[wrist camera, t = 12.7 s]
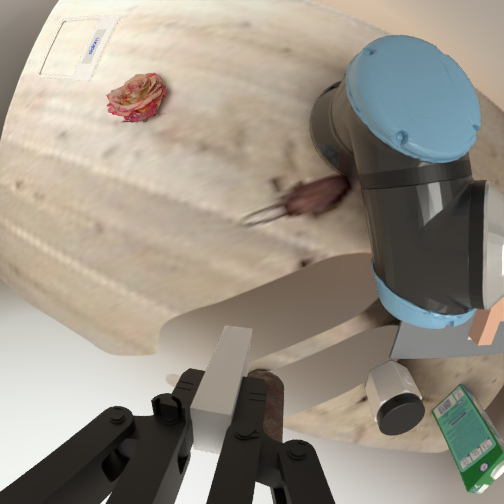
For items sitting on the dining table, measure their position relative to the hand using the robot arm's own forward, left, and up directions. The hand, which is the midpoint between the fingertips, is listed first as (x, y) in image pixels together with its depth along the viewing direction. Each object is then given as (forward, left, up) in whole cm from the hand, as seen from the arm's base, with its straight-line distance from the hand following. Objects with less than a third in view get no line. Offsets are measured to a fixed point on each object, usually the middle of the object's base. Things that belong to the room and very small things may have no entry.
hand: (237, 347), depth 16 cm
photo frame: (-36, -41, -30) cm, 62 cm away
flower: (-21, -21, -30) cm, 42 cm away
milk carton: (+33, +47, -30) cm, 65 cm away
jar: (+24, +25, -30) cm, 46 cm away
